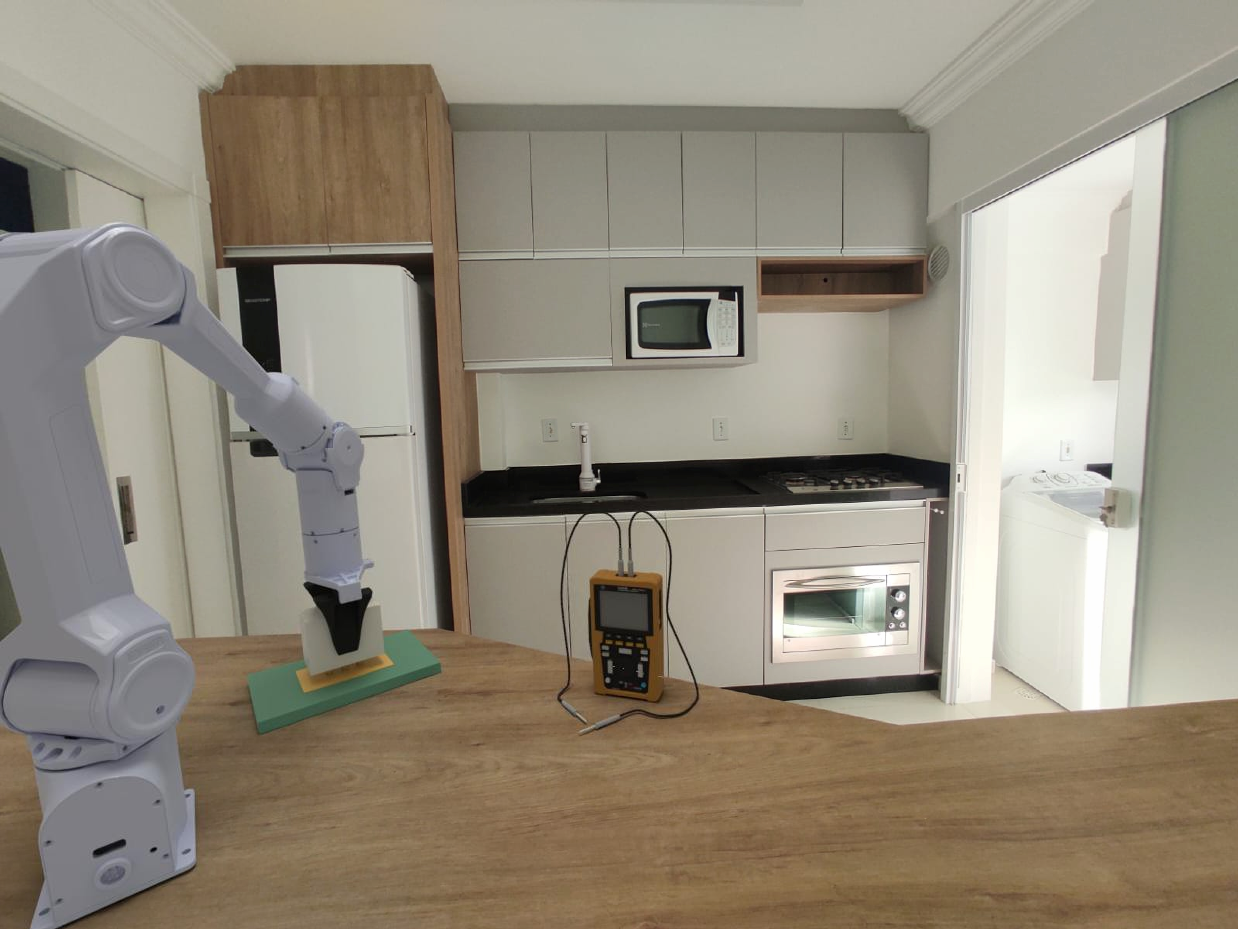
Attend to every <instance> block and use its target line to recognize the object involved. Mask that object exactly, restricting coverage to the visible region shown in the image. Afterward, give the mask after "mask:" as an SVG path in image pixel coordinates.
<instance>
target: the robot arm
mask: <svg viewBox="0 0 1238 929" xmlns="http://www.w3.org/2000/svg"><path fill="white" fill-rule="evenodd" d="M123 336H125V337H131V338H139V339H145V340H152V341H156V342H158V343H160V344H161V345H163V346H164V347H165V348H167V349H168V350H169V351H171V352H172V353H173V354H175V355H176V356H178V357H179V358H180V359H182V360H183V361H185V362H186V363H187V364H189V365H191V366H192V367H193V368H194V369H196V370H197V371H198V372H200V373H202V374H203V375H204V376H206V377H207V378H208V379H210V380H212V381H213V382H214V383H215V384H217V385H218V386H219V387H221V388H223V389H224V390H225V391H226V392H228V393H229V394H231V395H232V396H233V397H234V399H233V408H234V412H235V413H236V415H237V417H239V418H240V419H242V421H244V423H246V424H247V425H249V426H250V427H251V428H252V429H254V430H255V431H256V432H257V433H258V434H260V435H261V436H263V437H264V438H265V439H266V440H268V441H269V442H270V443H271V444H272V448H274V449H275V450H276V451H277V455H278V458H279V461H280V463H281V465H282V467H283V469H285V470H287V471H290V472H291V473H294V474H295V483H296V492H297V501H298V510H299V520H300V526H301V527H300V528H301V538H302V549H303V556H304V567H305V570H304V572H303V575H304V576H303V577H304V580H305V582H304V583H303V584H302V585H303V587H304V589H305V590H306V591H307V592H308V594H309V595H310V596H311V598H312V601H313V602H314V604H315V607H318V608H319V609H320V611H321V612H322V614H323V616H324V618H325V620H326V622H327V625H328V628H329V631H330V635H331V639H332V642H333V645H334V648H335V650H336V652H337V654H338V656H340V655H343V654H347V653H350V652H354V651H357V650H358V648H359V643H360V637H361V630H362V623H363V618H364V614H365V611H366V608H367V606H368V604H369V602H370V600H371V598H372V597H373V589H372V588H371V587H369V586H367V587H364V588H362V586H361V580H362V578H363V575H364V573H365V570H367V569H372V568H374V567H375V561H374V560H373V558H370V557H369V558H363V552H362V543H361V542H362V541H361V531H360V520H359V518H360V517H359V511H358V510H359V508H358V499H357V498H358V497H357V489H356V488H357V487H358V486H359V485H360V481H361V473H360V472H361V466H362V463H363V461H364V457H365V444H364V443H362V439H361V437H360V434H359V433H358V431H357V430H356V429H355V428H353V427H352V426H350V425H349V424H348V423H347V422H344V421H335V420H334V419H332V418H331V416H330V415H329V414H327V412H326V411H325V410H324V409H323V408H322V407H320V406H319V405H318V404H317V403H316V402H315V400H314V399H313V398H311V397H310V395H308V394H307V393H306V392H305V391H304V390H303V389H302V388H301V387H300V386H299V385H300V382H299V381H298V380H297V379H296V378H295V377H294V376H292V375H287V374H285V373H283V372H274V371H273V372H272V371H271V372H267V371H266V370H265V369H264V368H263V367H262V365H260V364H259V362H258V361H257V360H256V359H255V358H254V356H252V355H251V353H249V352H248V351H247V349H246V347H244V346H243V345H242V344H241V343H240V342H239V341H238V339H237V338H236V337H235V336H234V335H233V334H232V332H230V331H229V329H227V327H226V326H225V325H224V324H223V322H221V321H220V320H219V318H218V317H216V315H215V313H213V312H212V311H211V310H210V308H208V306H207V305H206V304H205V303H204V302H203V301H202V300H201V298H199V296H198V287H197V281H196V276H195V273H194V271H192V270H191V269H190V268H189V267H187V265H185V264H184V263H183V262H181V261H180V260H179V259H177V258H176V256H175V254H174V253H173V252H172V250H171V249H170V248H169V247H168V245H167V244H166V243H165V242H164V241H163V240H162V239H161V238H160V237H158V236H157V235H155V234H154V233H153V232H152V231H150V230H148V229H146V228H144V227H142V226H140V225H137V224H133V223H130V222H125V221H124V222H122V221H116V222H115V221H113V222H106V223H104V224H100V225H98V226H90V227H88V226H87V227H78V228H70V229H69V228H68V229H60V230H47V231H39V232H7V233H3V234H0V550H1V553H2V557H3V561H4V563H5V567H6V571H7V574H8V577H9V580H10V581H9V582H10V584H11V588H12V591H13V594H14V595H13V596H14V598H15V602H16V605H17V609H18V612H19V616H20V619H21V622H20V623H19V625H18V626H16V627H15V628H14V629H13V630H12V631H10V633H9V634H8V635H6V636H5V637H4V638H3V639H2V640H1V641H0V725H1V726H3V727H4V728H5V729H7V730H8V731H11V732H14V733H17V734H23V735H25V741H26V746H27V751H28V752H31V753H30V754H31V759H32V762H33V763H32V764H33V769H34V774H35V781H36V786H37V790H38V797H39V803H40V808H41V813H42V821H41V823H40V826H39V830H38V848H39V855H40V860H41V866H42V870H43V876H44V880H43V884H42V887H41V890H40V894H39V898H38V901H37V903H36V907H35V910H34V914H33V917H32V920H31V924H30V928H29V929H58V928H60V927H62V926H63V925H66V924H69V923H72V922H73V921H75V920H78V919H80V918H82V917H85V916H87V915H90V914H92V913H93V912H96V911H99V910H101V909H102V908H105V907H107V906H109V905H112V904H114V903H116V902H118V901H120V900H123V899H125V898H127V897H130V896H132V895H134V894H136V893H139V892H142V891H144V890H145V889H147V888H150V887H152V886H154V885H157V884H159V883H161V882H164V881H166V880H168V879H170V878H172V877H175V876H177V875H179V874H182V873H184V872H186V871H188V870H190V869H192V868H193V867H194V866H195V864H196V863H197V849H196V848H197V846H196V845H197V843H196V842H197V841H196V840H197V839H196V799H195V798H196V797H195V796H196V794H195V789H194V788H188V789H185V787H184V780H183V774H182V768H181V767H182V766H181V760H180V752H179V746H178V739H177V732H176V726H175V725H176V724H178V723H179V722H181V715H182V714H183V712H184V710H185V709H186V708H187V706H188V704H189V702H190V700H191V697H192V694H193V693H194V692H193V691H194V688H195V682H196V669H195V668H196V667H195V665H194V662H193V660H192V657H191V656H190V654H189V653H188V652H187V651H186V650H184V649H183V648H182V647H181V646H180V645H179V644H178V643H177V641H176V639H175V637H174V634H173V630H172V626H171V622H170V621H169V620H168V619H167V618H166V617H164V616H163V615H162V614H161V613H159V612H158V611H157V610H155V609H154V608H152V606H151V605H149V603H148V604H147V603H146V602H145V601H144V600H143V599H141V598H140V597H139V596H138V595H137V594H136V593H135V588H134V585H133V580H132V575H131V573H130V568H129V563H128V558H127V555H126V550H125V546H124V544H123V539H122V534H121V531H120V525H119V522H118V518H117V513H116V510H115V505H114V502H113V497H112V492H111V490H110V485H109V481H108V476H107V473H106V469H105V468H106V467H105V464H104V460H103V457H102V452H101V448H100V444H99V440H98V436H97V431H96V426H95V424H94V419H93V416H92V411H91V408H90V402H89V398H88V395H87V390H86V387H85V382H84V377H83V371H84V369H85V368H86V367H87V366H88V365H90V364H91V362H93V361H94V360H95V359H96V358H97V357H98V356H99V355H101V353H103V352H104V351H105V350H106V349H107V348H108V347H109V346H111V345H112V344H113V343H114V342H116V341H117V340H118V339H120V337H123Z"/></svg>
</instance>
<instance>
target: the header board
mask: <svg viewBox="0 0 1238 929" xmlns="http://www.w3.org/2000/svg"><path fill="white" fill-rule="evenodd" d="M405 630H406V631H404V630H402V631H397V632H394V633H391V634H388V635H383V641H384V652H385V654H382V655H379V656H375V657H372V658H369V659H365V660H362V661H359V662H356V663H352V664H349V665H346V666H342V667H339V668H336V669H332V670H329V671H326V672H323V673H319V674H316V675H313V676H311V675H310V673H309V671H308V668H307V666H306V664H305V662H304V658H302V659H299V660H295V661H292V662H289V663H285V664H281V665H278V666H274V667H270V668H267V669H264V670H259V671H257V672H253V673H250V674H247V675H246V676H247V678H246V679H247V685H248V690H249V694H250V698H251V699H250V700H251V704H252V708H253V712H254V717H255V721H256V725H257V732H258V734H259V735H261V734H265V733H267V732H270V731H273V730H277V729H279V728H282V727H285V726H288V725H290V724H294V723H296V722H299V721H302V720H305V719H309V718H311V717H313V716H317V715H320V714H323V713H326V712H328V711H331V710H335V709H337V708H340V707H342V706H346V705H349V704H351V703H355V702H357V701H361V700H364V699H366V698H370V697H372V696H376V695H378V694H381V693H384V692H387V691H390V690H392V689H395V688H398V687H401V686H402V687H403V686H404V685H407V684H410V683H413V682H416V681H419V680H422V679H424V678H427V677H430V676H434V675H436V674H440V673H441V672H442V664H441V663H442V662H441V661H440V660H439V659H438V658H437V657H436V656H435V655H434V654H433V653H432V652H431V651H430V650H429V649H428V648H427V647H426V646H425V645H424V644H423V643H422V642H421V641H420V640H419V639H418V638H417V637H416V636H415V634H413V633H412V632H411V631H410V630H409V629H405Z"/></svg>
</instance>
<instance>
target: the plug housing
mask: <svg viewBox="0 0 1238 929" xmlns="http://www.w3.org/2000/svg"><path fill="white" fill-rule="evenodd" d="M298 617H299V626H300V627H299V628H300V635H301V644H302V651H303V652H302V653H303V659H304V662H305V664H306V666H307V668H308V671H309V673H310V675H311V676H313V675H316V674H319V673H323V672H326V671H329V670H332V669H336V668H339V667H342V666H346V665H349V664H352V663H356V662H359V661H362V660H365V659H369V658H372V657H375V656H379V655H382V654H385V652H384V641H383V636H384V632H383V622H382V621H383V620H382V610H381V604H380V603H379V602H378V601H377V599H376V598H375V597H374V596H372V598H371V600H370V602H369V604H368V606H367V608H366V611H365V614H364V618H363V623H362V630H361V637H360V643H359V648H358V650H357V651H354V652H350V653H347V654H343V655H340V656H338V654H337V652H336V650H335V648H334V645H333V642H332V639H331V635H330V631H329V628H328V625H327V622H326V620H325V618H324V616H323V614H322V612H321V611H320V609H319V608H318V607H316V606H313V607H310V608H305V609H302V610H298Z"/></svg>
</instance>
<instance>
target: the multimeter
mask: <svg viewBox="0 0 1238 929" xmlns="http://www.w3.org/2000/svg"><path fill="white" fill-rule="evenodd" d="M592 513H598V514H603V515H606V516H608V517H610V518H611V519H612V520H613V521H614V523H615V525H616V527H617V530H618V561H617V570H613V569H612V570H610V569H607V568H606V569H600V570H597V571H596V572H595V573H594V574H593V575H592V576H591V577H590V578H589V599H588V607H587V621H588V622H587V627H588V628H587V629H588V630H587V631H588V634H587V635H588V644H589V651H590V657H591V660H592V664H593V665H592V668H593V670H592V671H593V690H595V692H596V693H597V694H599V695H603V696H606V695H607V694H608V695H614V696H620V697H621V696H622V697H628V698H636V699H641V700H646V701H647V702H657V701H658V700H659V699H660V697H661V695H662V693H663V690H664V688H665V651H664V650H665V648H664V646H665V644H664V643H665V642H664V640H665V638H664V635H665V633H664V632H665V631H664V628H665V627H664V587H663V586H664V585H663V584H664V582H663V576H662V574H659V573H658V572H642V571H641V572H639V571H638V572H637V571H634V561H633V554H632V553H633V551H632V550H633V548H632V530H631V529H632V524H633V521H634V519H635V517H636V516H637V515H638V514H640V513H643V514H646V515H647V516H649V517H650V518H652V519H653V520H654V521H655V523H656V524H657V525H658V527H659V528H660V529H661V530H662V533H663V535H664V537H665V539H666V543H667V545H668V552H669V554H668V555H669V565H668V568H669V569H668V579H667V591H666V597H665V598H666V599H665V615H666V618H667V620H668V621H667V622H668V624H669V626H670V628H671V631H672V632H673V635H674V637H675V639H676V641H677V643H678V646H679V649H680V650H681V652H682V655H683V656H684V659H685V662H686V664H687V666H688V669H689V671H690V672H689V673H690V674H691V677H692V680H693V683H694V687H695V691H696V692H695V693H696V696H695V700H694V701H693V702H692V704H691V705H690V706H689V707H687V708H686V709H685V710H683V711H680V712H678V713H672V714H657V713H653V712H650V711H647V710H644V709H641V708H640V709H638V708H637V709H631V710H628V711H625V712H622V713H621V714H616V715H612V716H609V717H607V718H605V719H601V720H600V721H596V722H594V724H593V725H592V726H589V727H586V728H584V729H582V730H580V731H578V732H577V734H582V733H585V732H586V731H589V730H592V729H596V730H597V729H599V728H600V727H604V726H606V725H608V724H611V723H614V722H616V721H618V720H619V719H620V718H622V717H624V716H626V715H630V714H632V713H637V712H639V713H643V714H645V715H649V716H651V717H656V718H673V717H679V716H683V715H685V714H687V713H688V712H690V711H691V710H692V709H693V708H692V707H695V706H696V704H697V703H698V701H699V698H700V694H699V693H700V692H699V686H698V682H697V679H696V676H695V673H694V670H693V669H692V665H691V664H690V661H689V659H688V658H689V657H688V656H687V654H686V652H685V649H684V647H683V645H682V643H681V641H680V639H679V636H678V634H677V632H676V630H675V627H674V624H673V623H672V620H671V617H670V612H669V601H670V589H671V579H672V571H673V570H672V568H673V553H672V552H673V551H672V544H671V541H670V539H669V536H668V533H667V532H666V530H665V528H664V527H663V525H662V524H661V522H660V521H659V519H657V518H656V517H655V515H653V514H652V513H651V512H649V511H647V510H644V509H639V510H637V511H635V512H634V513H633V515H632V516H631V518H630V521H629V523H628V524H629V525H628V529H627V531H628V539H627V540H628V550H627V551H628V552H627V553H628V554H627V555H628V556H627V557H628V561H627V570H626V571H625V569H624V568H625V567H624V566H625V563H624V559H623V547H622V530H621V526H620V523H619V522H618V520H617V519H616V518H615V517H614V516H613V515H612V514H611V513H608V512H607V511H603V510H599V509H596V510H595V509H594V510H588V511H586V512H584V513H582V515H581V516H579V518H578V519H577V520H576V522H575V523H574V525H573V527H572V529H571V531H570V534H569V537H568V540H567V543H566V547H565V551H564V556H563V560H562V568H561V575H560V588H559V589H560V592H559V594H560V595H559V597H560V599H559V600H560V609H561V610H560V612H561V621H562V629H563V636H564V644H565V650H566V652H565V653H566V661H567V662H566V663H567V684H566V685H565V687H564V688H562V689H561V690H560V691H559V693H558V694H557V697H556V698H557V700H558V701H559V702H560V703H561V704H562V706H563V707H565V708H566V709H567V711H569V713H572V714H573V716H574V717H577V716H578V717H579V718H580V719H581V720H582V721H583V722H584V723H587V719H585V718H584V717H583V716H582V715H581V714H579V713H580V712H579V710H578V709H576V708H575V707H573V706H572V705H571V704H570V703H568V701H565V700H564V699H562V698H561V697H560V696H562V694H563V693H564V692H565V691H567V689H568V688H569V686H570V684H571V660H570V652H569V643H568V636H567V628H566V621H565V612H564V611H565V610H564V597H563V596H564V595H563V592H564V576H565V569H566V568H565V567H566V563H567V562H566V561H567V556H568V552H569V547H570V544H571V541H572V537H573V535H574V532H575V531H576V528H577V527H578V525H579V523H580V521H582V520H583V519H584V517H586V516H587V515H590V514H592ZM613 666H615V667H613ZM623 668H624V669H623ZM636 671H639V672H636ZM643 673H644V674H643ZM658 676H663V677H664V678H662V677H658ZM696 702H697V703H696ZM691 708H692V709H691ZM686 712H687V713H686Z"/></svg>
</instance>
